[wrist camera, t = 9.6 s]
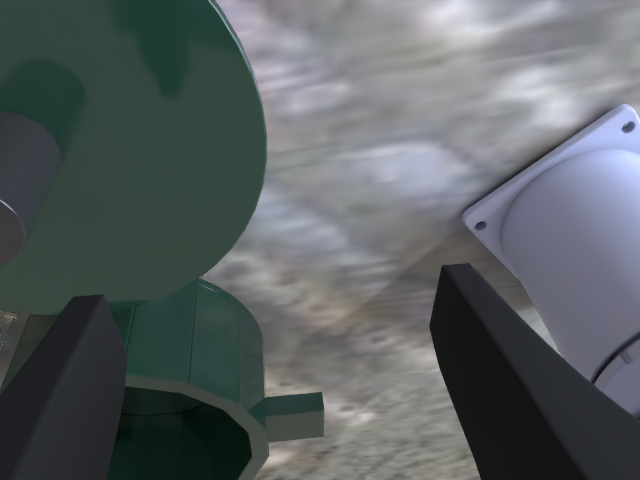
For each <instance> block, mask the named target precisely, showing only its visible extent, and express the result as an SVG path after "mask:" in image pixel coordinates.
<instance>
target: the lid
mask: <svg viewBox="0 0 640 480" xmlns="http://www.w3.org/2000/svg"><path fill="white" fill-rule="evenodd" d="M266 163H267V133H266V124H265V117H264V110H263V104H262V99H261V95H260V92H259V88H258V85H257V82H256V78H255V75H254V71H253V69H252V67H251V64H250V62H249V60H248V58H247V55H246V53H245V51H244V48H243V46H242V44H241V42H240V39H239V38H238V36H237V34H236V33H235V31H234V29H233V28H232V26H231V24H230V23H229V21H228V19H227V18H226V16H225V14H224V13H223V11H222V9H221V8H220V6H219V5H218V4H217V2H216V1H215V0H0V311H6V312H14V313H22V314H30V315H50V316H59V315H60V314H61V312H62V311H63V309H64V308H65V307H66V305H67V304H68V302H69V301H70V300H71V299H72V298H73V297H76V296H87V295H99V294H104V296H105V299H106V301H107V304H108V306H109V309H110V311H111V312H113V311H118V310H122V309H127V308H131V307H136V306H139V305H142V304H145V303H148V302H151V301H154V300H157V299H160V298H162V297H164V296H167V295H169V294H171V293H173V292H175V291H178V290H180V289H181V288H183V287H185V286H186V285H188V284H190V283H191V282H193V281H195V280H196V279H198V278H200V277H201V276H202V275H203V274H205V273H206V272H207V271H208V270H210V269H211V268H212V267H214V266H215V265H216V264H217V263H218V262H219V261H220V260H221V259H222V258H223V257H224V256H225V255H226V254H227V253H228V252H229V251H230V250H231V249H232V247H233V246H234V244H235V243H236V242H237V240H238V239H239V237H240V236H241V235H242V233H243V232H244V230H245V229H246V227H247V225H248V223H249V221H250V219H251V217H252V215H253V213H254V211H255V209H256V206H257V203H258V200H259V197H260V194H261V191H262V187H263V182H264V175H265V169H266Z"/></svg>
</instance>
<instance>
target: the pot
mask: <svg viewBox="0 0 640 480" xmlns="http://www.w3.org/2000/svg"><path fill="white" fill-rule="evenodd" d="M111 314H112V316H113V319H114V321H115V324H116V326H117V329H118V331H119V334H120V336H121V339H122V341H123V344H124V346H125V349H126V351H127V354H128V357H127V369H126V381H125V391H124V400H123V405H122V410H121V415H120V420H119V424H118V429H117V434H116V438H115V443H114V447H113V452H112V456H111V461H110V465H109V470H108V474H107V479H106V480H253V479H254V478H255V476H256V475H257V473H258V472H259V470H260V469H261V467H262V466H263V464H264V463H265V461H266V460H267V459H268V457H269V442H277V441H287V440H296V439H306V438H316V437H323V436H324V404H323V397H322V392H317V393H307V394H297V395H286V396H276V397H267V394H266V370H265V356H264V343H263V337H262V333H261V331H260V328H259V326H258V324H257V322H256V320H255V319H254V317H253V316H252V314H251V313H250V312H249V311H248V310H247V309H246V308H245V307H244V305H243V304H241V303H240V302H239V301H238V300H237V299H235V298H234V297H233V296H232V295H230V294H228V293H227V292H225V291H224V290H222V289H220V288H219V287H216V286H214V285H212V284H210V283H208V282H206V281H204V280H201V279H196V280H195V281H193V282H191V283H190V284H188V285H186V286H185V287H183V288H181V289H180V290H178V291H175V292H173V293H171V294H169V295H167V296H164V297H162V298H160V299H157V300H154V301H151V302H148V303H145V304H142V305H139V306H136V307H131V308H127V309H122V310H118V311H113V312H111ZM57 318H58V316H50V315H30V314H22V313H19V315H18V317H17V318H16V319H15V321H14V322H13V323H12V325H11V327H10V329H9V331H8V334H7V336H6V339H5V341H4V343H3V346H2V348H1V351H0V394H1V393H2V392H3V391H4V389H5V388H6V387H7V385H8V384H9V383H10V382H11V380H12V379H13V378H14V376H15V375H16V374H17V372H18V371H19V370H20V368H21V367H22V366H23V365H24V363H25V362H26V361H27V359H28V358H29V357H30V355H31V354H32V353H33V351H34V350H35V348H36V347H37V346H38V344H39V343H40V342H41V340H42V339H43V337H44V336H45V335H46V333H47V332H48V330H49V329H50V328H51V326H52V325H53V323H54V322H55V321H56V319H57Z"/></svg>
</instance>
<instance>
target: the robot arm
mask: <svg viewBox="0 0 640 480" xmlns="http://www.w3.org/2000/svg"><path fill="white" fill-rule="evenodd" d="M628 122H629V123H628ZM626 123H628V125H627V126H626V127H624V128H622V127H623V126H624V125H625V124H626ZM462 220H463V222H464V224H465V226H466V227H467V228H468V229H469V230H470V231H471V232H472V233H473V234H474V235H475V236H476V237H477V238H478V239H479V240H480V241H481V242H482V243H483V244H484V245H485V246H486V247H487V248H488V249H489V250H490V251H491V252H492V253H493V254H494V255H495V256H496V257H497V258H498V259H499V260H500V261H501V262H502V263H503V265H504V266H505V267H506V268H507V269H508V270H509V271H510V272H511V273H512V274H513V275H514V276H515V277H516V278H517V279H518V280H519V281H520V282H521V283H522V284H523V286H524V288H525V290H526V292H527V293H528V295H529V297H530V299H531V301H532V302H533V304H534V306H535V308H536V310H537V311H538V313H539V315H540V317H541V319H542V320H543V322H544V324H545V326H546V328H547V329H548V331H549V333H550V335H551V337H552V339H553V340H554V342H555V344H556V346H557V348H558V349H559V351H560V353H561V355H562V357H563V358H564V359H563V358H562V357H561V356H560V355H559V354H558V353H557V352H556V351H555V350H554V349H553V348H551V347H550V346H549V345H548V344H547V343H546V342H545V341H544V340H543V339H542V338H541V337H540V336H539V335H538V334H537V333H536V332H535V331H534V330H533V329H532V328H531V327H530V326H529V325H528V324H527V323H526V322H525V321H524V320H523V319H522V318H521V317H520V316H519V315H518V314H517V313H516V312H515V311H514V310H513V309H512V308H511V307H510V306H509V305H508V304H507V303H506V302H505V301H504V300H503V299H502V297H501V296H500V295H499V294H498V293H497V292H496V291H495V290H494V289H493V288H492V287H491V286H490V285H489V284H488V283H487V281H486V280H485V279H484V278H483V277H482V276H481V275H480V274H479V273H478V272H477V271H476V270H475V269H474V268H473V267H472V266H471V265H470V264H469V263H465V264H454V265H442V268H441V272H440V277H439V282H438V287H437V291H436V296H435V301H434V306H433V310H432V315H431V320H430V325H429V327H430V331H431V336H432V340H433V344H434V348H435V352H436V356H437V360H438V364H439V368H440V370H441V373H442V376H443V379H444V381H445V384H446V387H447V389H448V392H449V395H450V397H451V400H452V402H453V405H454V408H455V410H456V413H457V415H458V418H459V421H460V423H461V426H462V428H463V431H464V434H465V436H466V439H467V441H468V444H469V447H470V449H471V452H472V454H473V457H474V460H475V463H476V466H477V469H478V471H479V474H480V477H481V480H640V119H639V117H638V115H637V114H636V112H635V110H634V109H632V108H631V107H630V106H629V105H625V104H623V105H619V106H617V107H615V108H614V109H612V110H611V111H609V112H608V113H606V114H605V115H603V116H602V117H601V118H599V119H598V120H596V121H595V122H593V123H592V124H590V125H589V126H587V127H586V128H585V129H583V130H582V131H580V132H579V133H577V134H576V135H574V136H573V137H571V138H570V139H569V140H567V141H566V142H564V143H563V144H561V145H560V146H558V147H557V148H555V149H554V150H553V151H551V152H550V153H548V154H547V155H545V156H544V157H542V158H541V159H540V160H538V161H537V162H535V163H534V164H532V165H531V166H529V167H528V168H526V169H525V170H524V171H522V172H521V173H519V174H518V175H516V176H515V177H513V178H512V179H510V180H509V181H508V182H506V183H505V184H503V185H502V186H500V187H499V188H497V189H496V190H495V191H493V192H492V193H490V194H489V195H487V196H486V197H484V198H483V199H481V200H480V201H479V202H477V203H476V204H474V205H473V206H471V207H470V208H468V209H467V210H466V211H465V212H464V213H463V215H462ZM479 222H482V223H481V224H479V225H476V224H477V223H479ZM127 357H128V354H127V351H126V349H125V346H124V344H123V341H122V339H121V336H120V334H119V331H118V329H117V326H116V324H115V321H114V319H113V316H112V314H111V311H110V309H109V306H108V304H107V301H106V299H105V296H104V294H99V295H87V296H76V297H73V298H72V299H71V300H70V301H69V302H68V304H67V305H66V307H65V308H64V309H63V311H62V312H61V314H60V315H59V316H58V318H57V319H56V321H55V322H54V323H53V325H52V326H51V328H50V329H49V330H48V332H47V333H46V335H45V336H44V337H43V339H42V340H41V342H40V343H39V344H38V346H37V347H36V348H35V350H34V351H33V353H32V354H31V355H30V357H29V358H28V359H27V361H26V362H25V363H24V365H23V366H22V367H21V368H20V370H19V371H18V372H17V374H16V375H15V376H14V378H13V379H12V380H11V382H10V383H9V384H8V385H7V387H6V388H5V389H4V391H3V392H2V393H1V394H0V480H106V479H107V474H108V470H109V465H110V461H111V456H112V452H113V447H114V443H115V438H116V434H117V429H118V424H119V420H120V415H121V410H122V405H123V400H124V391H125V381H126V369H127Z"/></svg>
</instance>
